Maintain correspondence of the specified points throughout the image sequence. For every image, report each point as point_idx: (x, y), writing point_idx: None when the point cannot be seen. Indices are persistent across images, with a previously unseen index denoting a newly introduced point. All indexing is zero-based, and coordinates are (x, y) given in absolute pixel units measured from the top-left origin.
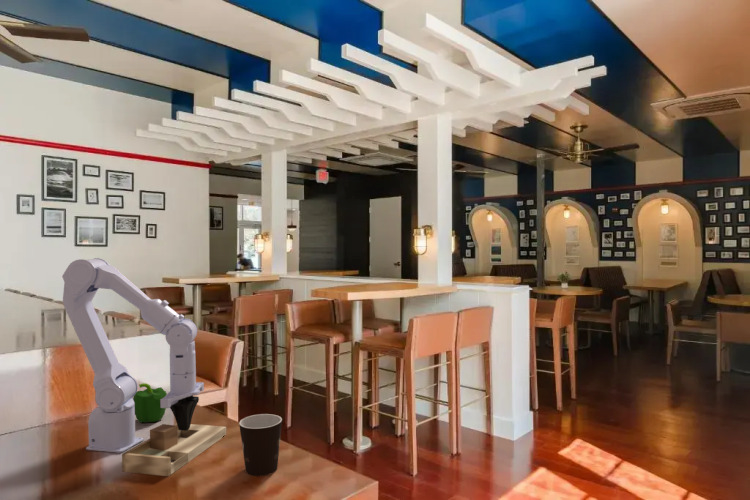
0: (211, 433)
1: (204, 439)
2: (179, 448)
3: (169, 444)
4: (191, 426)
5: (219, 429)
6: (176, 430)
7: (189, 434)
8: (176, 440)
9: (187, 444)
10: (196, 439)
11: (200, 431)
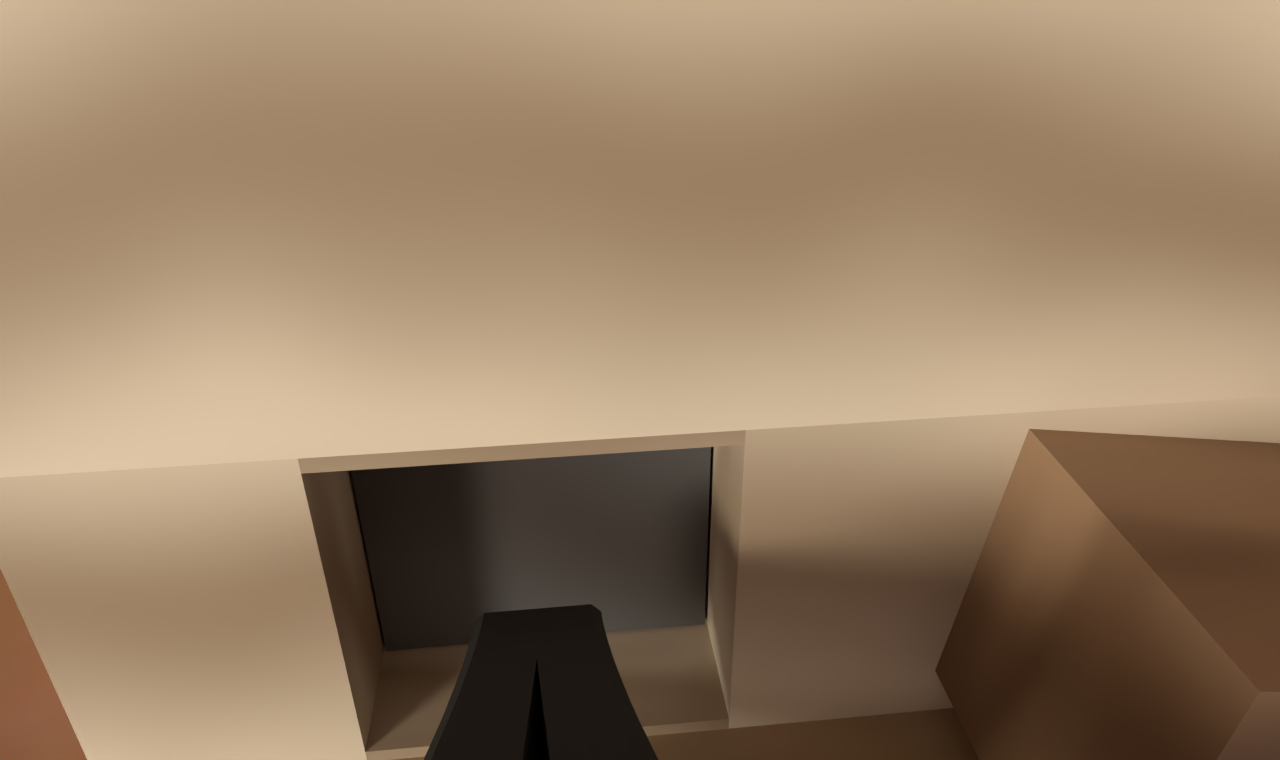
0: (356, 95)
1: (761, 34)
2: (1258, 266)
3: (1258, 476)
4: (185, 699)
5: (21, 42)
6: (1222, 613)
7: (352, 580)
8: (1094, 473)
9: (1063, 239)
10: (782, 223)
11: (342, 411)
